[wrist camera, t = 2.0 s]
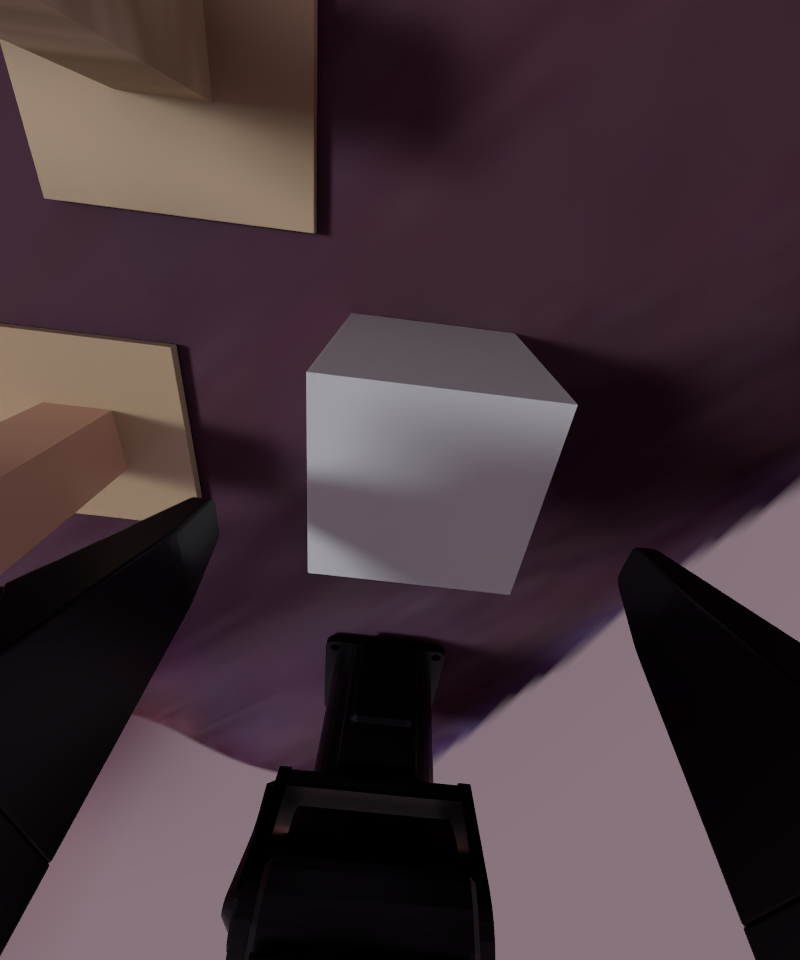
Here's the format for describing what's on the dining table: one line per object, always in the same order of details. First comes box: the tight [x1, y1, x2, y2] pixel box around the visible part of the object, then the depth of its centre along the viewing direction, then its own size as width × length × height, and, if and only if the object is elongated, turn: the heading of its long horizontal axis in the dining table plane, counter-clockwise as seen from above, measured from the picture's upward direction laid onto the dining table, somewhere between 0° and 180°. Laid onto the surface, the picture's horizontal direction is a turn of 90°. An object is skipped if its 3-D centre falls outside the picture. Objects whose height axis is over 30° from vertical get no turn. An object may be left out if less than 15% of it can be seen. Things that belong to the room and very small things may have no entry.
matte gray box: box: [306, 313, 578, 595], centre depth 13 cm, size 6×6×7 cm
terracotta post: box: [0, 323, 202, 575], centre depth 14 cm, size 8×8×7 cm
